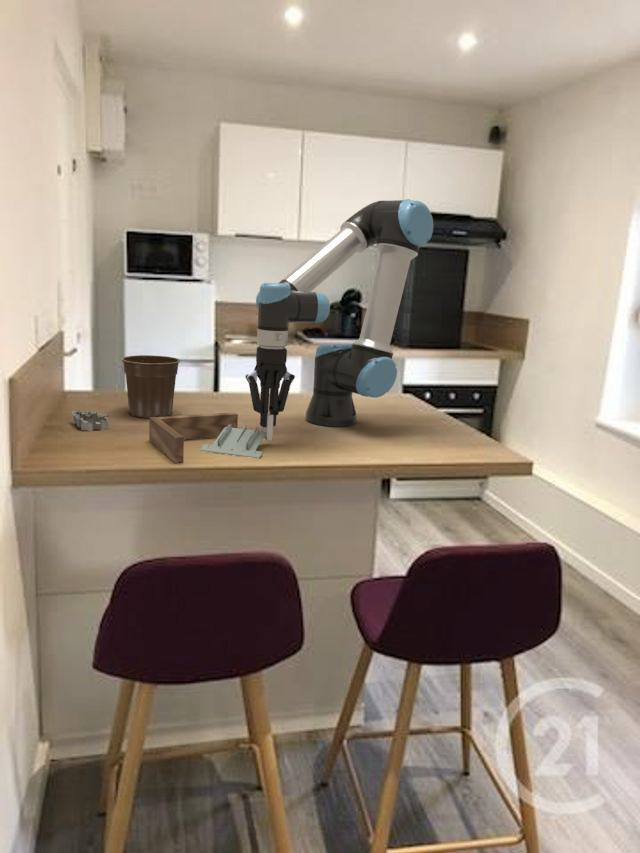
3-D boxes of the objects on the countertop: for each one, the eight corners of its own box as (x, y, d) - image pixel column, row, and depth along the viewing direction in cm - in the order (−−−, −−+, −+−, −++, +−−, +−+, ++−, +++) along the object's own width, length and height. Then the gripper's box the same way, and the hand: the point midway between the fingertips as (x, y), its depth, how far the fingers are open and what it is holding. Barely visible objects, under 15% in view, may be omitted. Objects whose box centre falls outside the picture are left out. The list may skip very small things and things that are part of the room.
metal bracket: (218, 418, 176) (274, 425, 174) (219, 437, 179) (275, 444, 176) (197, 446, 164) (257, 454, 161) (199, 467, 167) (258, 475, 164)
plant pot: (131, 405, 208) (131, 352, 204) (184, 409, 208) (185, 356, 204) (114, 418, 192) (113, 361, 188) (171, 422, 192) (172, 365, 188)
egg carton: (110, 430, 180) (110, 415, 179) (81, 433, 176) (80, 417, 175) (98, 420, 189) (98, 406, 188) (70, 423, 185) (70, 408, 184)
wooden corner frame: (234, 434, 184) (234, 412, 182) (266, 454, 168) (267, 430, 166) (149, 440, 172) (149, 417, 171) (174, 463, 156) (175, 437, 154)
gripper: (254, 349, 163) (250, 444, 169) (302, 348, 170) (296, 440, 175) (241, 344, 169) (237, 437, 175) (288, 344, 176) (283, 433, 182)
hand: (267, 438), depth 175 cm, fingers closed
